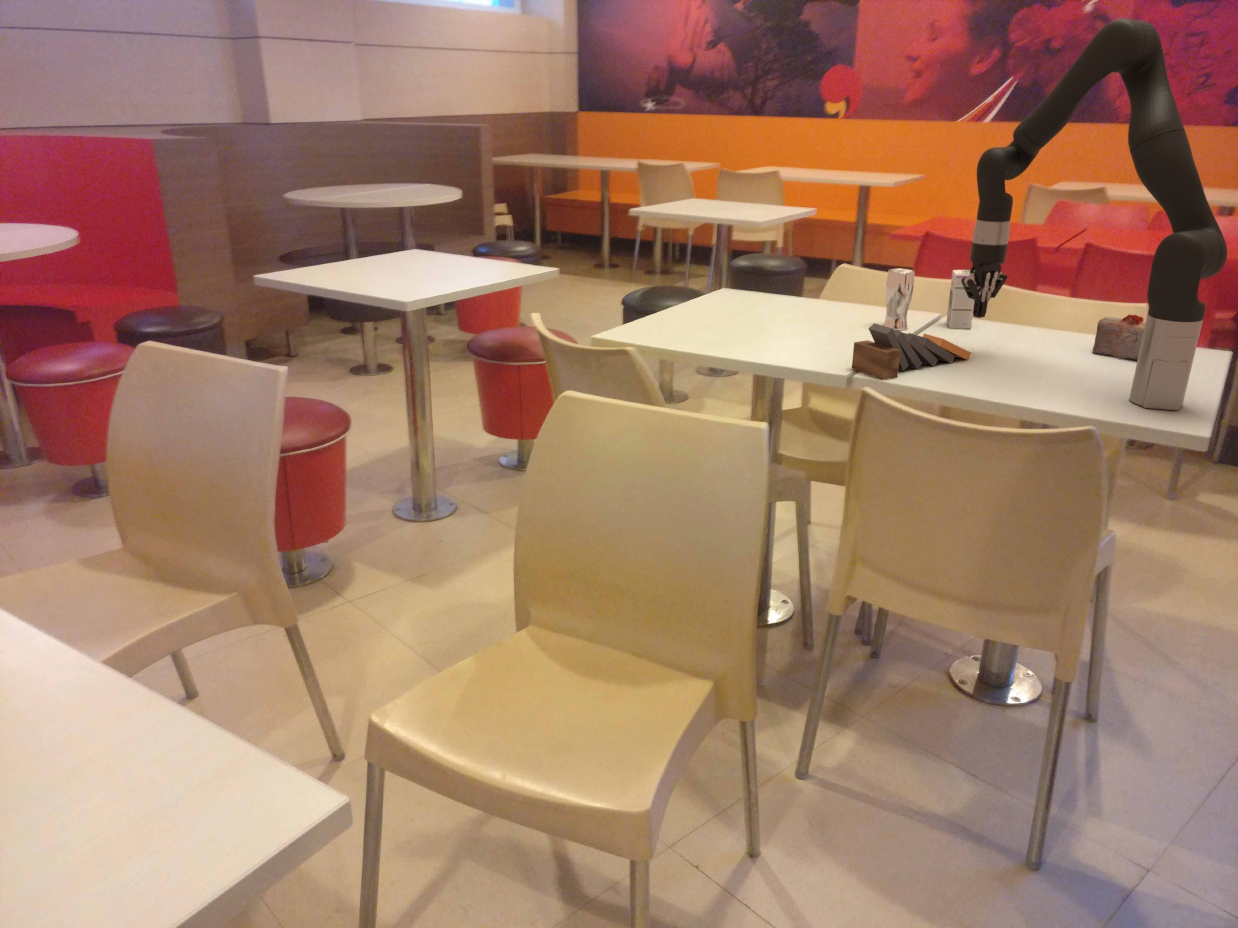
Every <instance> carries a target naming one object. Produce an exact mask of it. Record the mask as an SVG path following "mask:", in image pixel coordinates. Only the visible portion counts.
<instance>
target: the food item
mask: <svg viewBox="0 0 1238 928" xmlns="http://www.w3.org/2000/svg"><path fill="white" fill-rule="evenodd" d="M1144 320H1145V319H1144V317H1143V316H1139V315H1137V314H1131V313H1129V314H1127V315H1126V316H1124V317H1123V318H1121V317H1113V316H1104V317H1102V318H1101V319H1099V320H1098V322H1097V327H1096V334H1095V339H1094V343H1093V347H1092V354H1096V353H1097V354H1096V355H1102V356H1103V355H1104V356H1108V357H1109V356H1110V357H1115V358H1116V359H1121V360H1122V359H1124V360H1125V359H1128V360H1133V361H1137V360H1138V355H1139V351H1140V346H1141V342H1142V337H1143V333H1144V328H1145V324H1146V322H1144Z"/></svg>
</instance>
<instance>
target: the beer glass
mask: <svg viewBox="0 0 1238 928" xmlns="http://www.w3.org/2000/svg"><path fill="white" fill-rule="evenodd" d="M915 276H916V275H915V270H913V269H909V268H890V269H888V272H887V277H886V284H885V292H884V293H885V307H886V308H885V309H886V311H885V313H886V314H885V319H884V321H883V322H884V323H883V325H882V326H886V327H889V328H892V329H894V330H898V331H906V330H907V329H908V321H907V318H908V311H909V308H910V305H911V302H912V298H913V295H914V288H915Z"/></svg>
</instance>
